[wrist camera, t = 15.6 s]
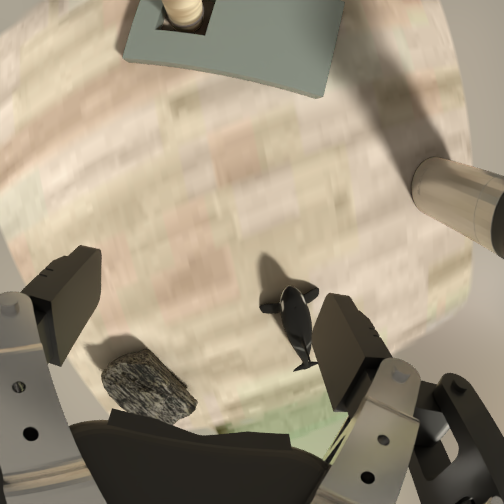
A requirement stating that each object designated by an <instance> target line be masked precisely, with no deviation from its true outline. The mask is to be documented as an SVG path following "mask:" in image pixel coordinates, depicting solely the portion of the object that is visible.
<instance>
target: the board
mask: <svg viewBox="0 0 504 504" xmlns="http://www.w3.org/2000/svg"><path fill="white" fill-rule="evenodd" d="M204 1H211V2H215V5H214V8H213V11H212V15H211V18H210V21H209V24H208V28H207V31H206V35H205V36H203V35H197V34H190V33H182V32H174V31H165V30H161V28H162V25H163V22H164V19H165V16H166V9H165V7H164V5H163V2H162V0H140V2H139V5H138V8H137V11H136V14H135V17H134V20H133V23H132V26H131V30H130V33H129V36H128V40H127V43H126V46H125V50H124V54H123V57H122V58H123V59H124V60H126V61H127V62H129V63H141V64H151V65H160V66H168V67H176V68H183V69H189V70H196V71H202V72H208V73H213V74H218V75H224V76H229V77H234V78H238V79H243V80H247V81H252V82H256V83H260V84H264V85H268V86H272V87H276V88H280V89H284V90H287V91H291V92H295V93H298V94H301V95H305V96H308V97H311V98H315V99H317V98H321V97H323V95H324V91H325V87H326V83H327V79H328V74H329V70H330V66H331V62H332V57H333V53H334V49H335V44H336V40H337V36H338V31H339V27H340V22H341V18H342V13H343V9H344V4H345V2H343V1H341V0H204Z"/></svg>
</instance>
